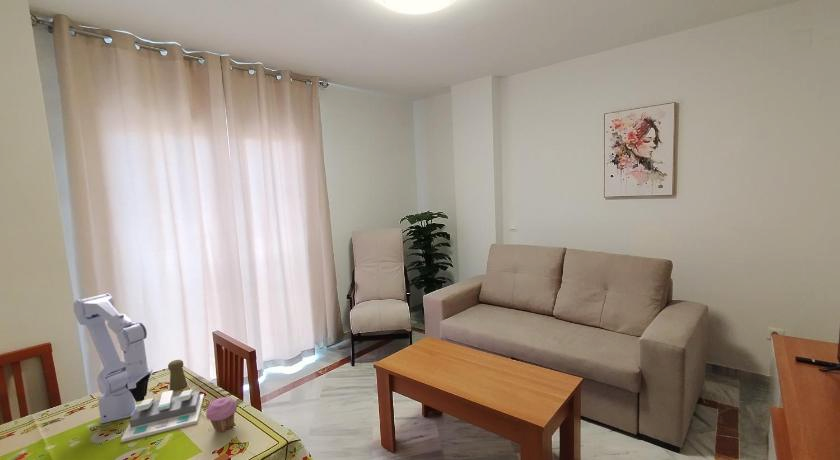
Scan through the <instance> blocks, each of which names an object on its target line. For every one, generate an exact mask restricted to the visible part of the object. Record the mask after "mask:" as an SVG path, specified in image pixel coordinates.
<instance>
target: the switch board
mask: <svg viewBox="0 0 840 460" xmlns="http://www.w3.org/2000/svg"><path fill="white" fill-rule="evenodd" d="M179 396H180V395H176V396H173V397H172V401H171V404H170V408H168V409H164V410H159V411H158V405H159V402H160V399H158V400H154V402H153V403H152V405H151V408H149V409H145V410H141V411H137V410H135V412H134V413H133V415H132V417H130V418H129V424H128V426H127V428H126V429H125V431H124V433H123V435H122V437H121V439H120V442H121V443H125V442H129V441H132V440H137V439H141V438H144V437H147V436H148V437H149V436H152V435H156V434H160V433H163V432H167V431H171V430H176V429H179V428H184V427H188V426H192V425H195V424H198V423H199V418H200V415H201V409H202V405H203V404H204V403H203V402H204V397H205V394H204V393H203V394H201V393H200V390H198V391H193V393H192V395H191V399H189V400H184V401H180V402H178V397H179Z"/></svg>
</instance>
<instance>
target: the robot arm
mask: <svg viewBox="0 0 840 460" xmlns="http://www.w3.org/2000/svg"><path fill="white" fill-rule="evenodd" d="M114 305H115V301H114V297H113V296H112V295H111V294H110V293H108V292H105V293H102V294H97V295H95V296H94V295H93V296H91V297H86V298H82V299H75V301H74V303H73V312H74V315H75V317H76V320H77V322H78V323H79V325H80V326H86V328H87V330H88V332H89V335H90V337H91V339H92V342H93V344H94V347H95V349H96V352H97V354H98V356H99V359H100V362H101V364H102V366H103V369H101V371H100V372H99V373H98V375H97V378H96V380H97V387H98V389H99V392H100V396H99V398H98V410H99V417H100V424H104V423H105V424H107V423H109V422H110V423H111V422H114V421H117V420H122V419H126V418H131V417H132V415H133V413H134V412H135V410H136V407H137V406H138V405H139V404H140V403H137V402H142V401H143V400H145V397H147V394H148V384H149V381H150V378H151V375H152V373H153V369H152V368H151V369H149V367H148V360H147V353H146V346H145V340H146V339H147V335H148V331H147V328H146V326H145V325H144V324H143V323H142V322H138V321H137V322H135V321H133V320H132V319H131V318H130V317H129V316H128V315H127V314H126V313H119V312H118V310H117V309H116V308H115V306H114ZM106 321H107V324H106ZM108 328H109V329H110V330H111V331H112V332H113V333H114V334H115V336H116V338H117V341H118V343H119V347H120V350H121V351H123V360H124V361H123V360H121V359H120V358H121V357H120V356H119V353H118V350H117V348H116V346H115V344H114V342H113V339H112V337H111V334H110V332H109V330H108Z"/></svg>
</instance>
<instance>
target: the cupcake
mask: <svg viewBox="0 0 840 460" xmlns="http://www.w3.org/2000/svg"><path fill="white" fill-rule="evenodd" d="M237 407H238V404H237V402H236V401H235V399H233V398H231V397H227V396H226V397H224V396H223V397H219V398H216V399H214V400H213V401H211V402H210V403H209V404H208V406H207V408H206V411H205V412H206V414H205V416H206V419H207V420H209V421H210V422H211V424H212V427H213V429H214V430H215V431H217V432H219V433H224V432H226V431H227V430H229V428H231V427H232V426H234V424H235V413H236V412H237Z"/></svg>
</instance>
